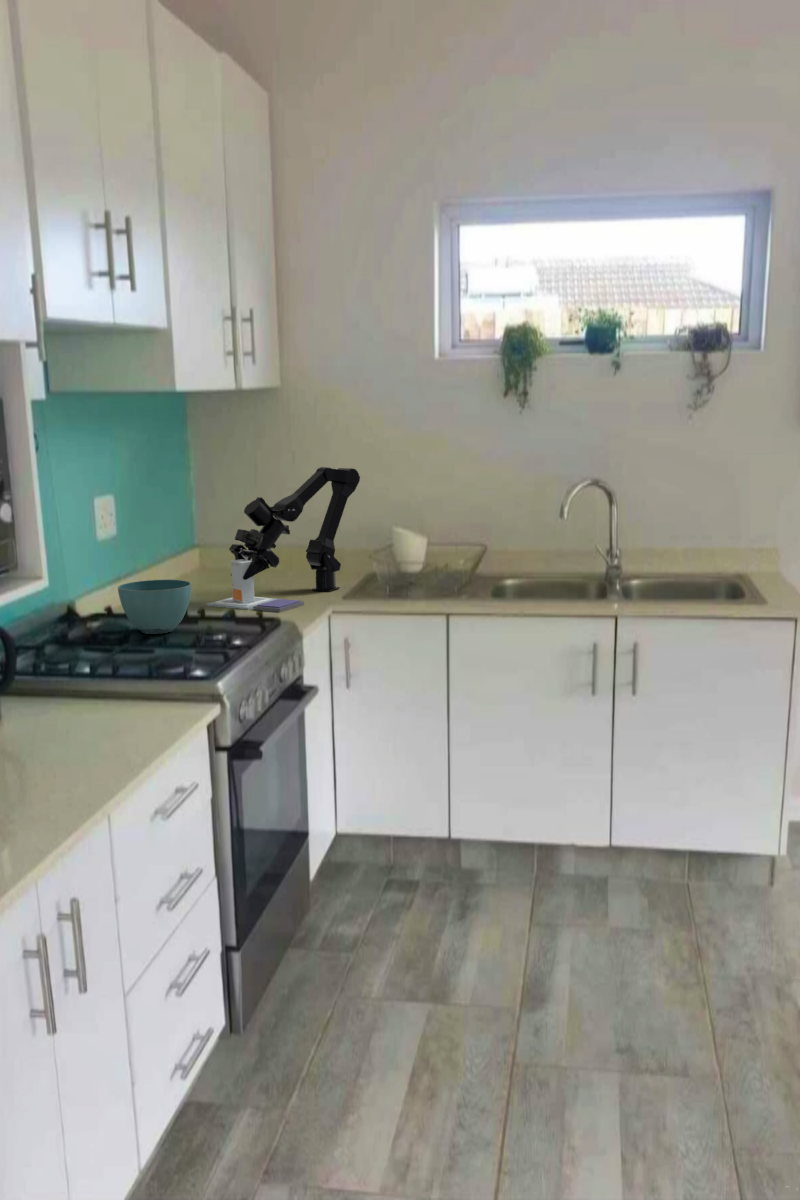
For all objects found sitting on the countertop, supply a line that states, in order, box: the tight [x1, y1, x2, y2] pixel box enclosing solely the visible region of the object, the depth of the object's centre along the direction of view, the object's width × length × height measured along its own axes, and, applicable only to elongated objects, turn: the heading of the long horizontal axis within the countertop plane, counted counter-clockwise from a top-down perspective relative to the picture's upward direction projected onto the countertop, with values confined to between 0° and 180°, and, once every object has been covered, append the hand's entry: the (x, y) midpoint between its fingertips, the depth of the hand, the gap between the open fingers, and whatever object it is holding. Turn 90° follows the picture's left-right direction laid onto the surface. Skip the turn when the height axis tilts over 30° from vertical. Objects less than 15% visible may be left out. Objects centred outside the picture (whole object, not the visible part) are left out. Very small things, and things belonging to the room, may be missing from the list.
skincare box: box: [230, 559, 256, 603], centre depth 302 cm, size 6×4×12 cm
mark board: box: [206, 596, 278, 611], centre depth 303 cm, size 15×15×1 cm
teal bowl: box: [117, 579, 192, 629], centre depth 265 cm, size 18×18×12 cm
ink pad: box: [253, 598, 305, 613], centre depth 296 cm, size 12×9×1 cm
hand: (237, 577), depth 301 cm, fingers closed on skincare box, 6 cm apart
